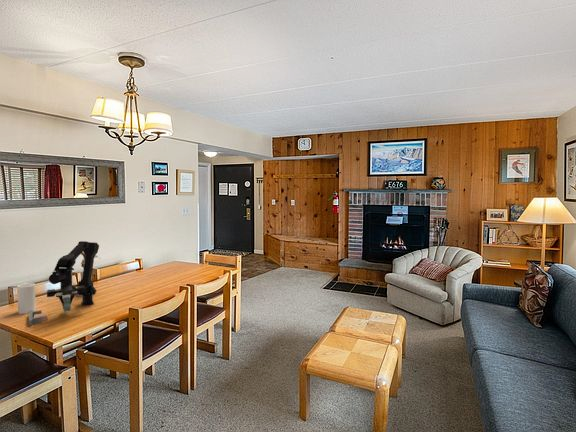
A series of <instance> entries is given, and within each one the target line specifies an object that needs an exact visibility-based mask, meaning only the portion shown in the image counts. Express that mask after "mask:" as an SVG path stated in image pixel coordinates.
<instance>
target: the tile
mask: <svg viewBox="0 0 576 432" xmlns="http://www.w3.org/2000/svg"><path fill="white" fill-rule="evenodd" d="M35 317H41V322H42V321H47V320H48V312H44V313H43V312H41V314H35V315H34V317H33V318H35Z"/></svg>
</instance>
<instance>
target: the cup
mask: <svg viewBox="0 0 576 432" xmlns="http://www.w3.org/2000/svg"><path fill="white" fill-rule="evenodd" d="M16 290H17V313H18V314H20V315H26V314H29V311H30V310H33V311H36V284H35V283H34V282H28V283H21V284H19V285H17V288H16Z"/></svg>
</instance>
